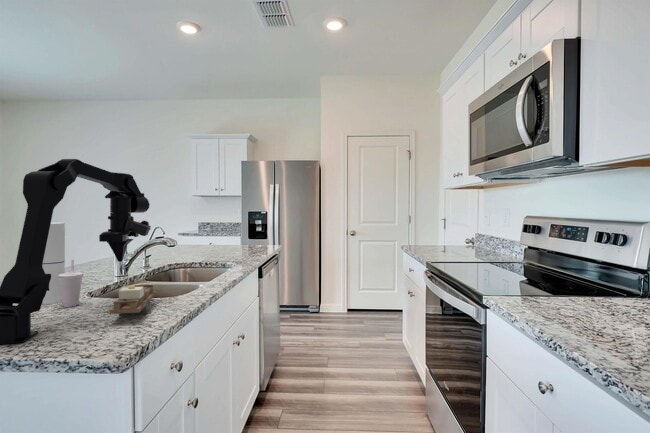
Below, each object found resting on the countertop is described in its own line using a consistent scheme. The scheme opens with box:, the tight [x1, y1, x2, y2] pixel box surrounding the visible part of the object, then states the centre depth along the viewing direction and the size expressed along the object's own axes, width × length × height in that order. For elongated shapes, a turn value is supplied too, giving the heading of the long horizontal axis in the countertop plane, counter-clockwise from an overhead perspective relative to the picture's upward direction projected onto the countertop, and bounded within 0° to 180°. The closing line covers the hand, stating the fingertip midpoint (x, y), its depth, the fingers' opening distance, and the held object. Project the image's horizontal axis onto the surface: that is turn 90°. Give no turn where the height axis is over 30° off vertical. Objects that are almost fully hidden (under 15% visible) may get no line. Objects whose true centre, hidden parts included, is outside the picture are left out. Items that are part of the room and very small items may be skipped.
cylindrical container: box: [42, 222, 66, 305], centre depth 110 cm, size 7×7×25 cm
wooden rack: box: [109, 284, 157, 317], centre depth 100 cm, size 20×7×6 cm, turn 15°
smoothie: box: [58, 259, 84, 308], centre depth 106 cm, size 6×6×14 cm
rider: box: [118, 284, 145, 305], centre depth 96 cm, size 4×5×5 cm
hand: (120, 261), depth 111 cm, fingers closed
